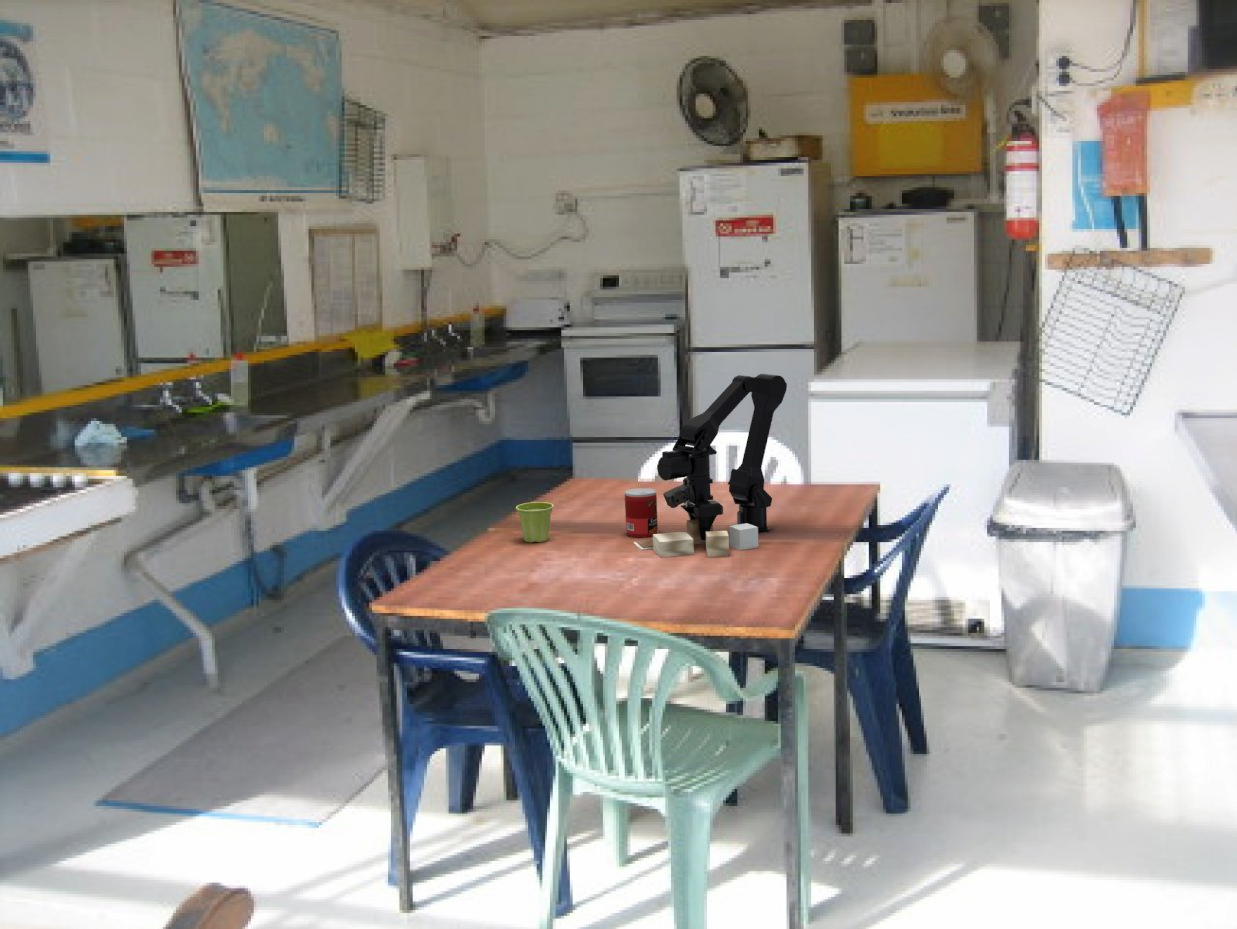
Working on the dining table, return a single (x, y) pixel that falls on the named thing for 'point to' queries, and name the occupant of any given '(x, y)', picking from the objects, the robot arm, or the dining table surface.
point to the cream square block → (673, 544)
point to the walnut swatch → (644, 544)
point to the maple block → (717, 543)
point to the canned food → (641, 512)
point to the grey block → (743, 536)
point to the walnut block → (695, 531)
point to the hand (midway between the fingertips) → (699, 537)
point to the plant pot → (535, 520)
